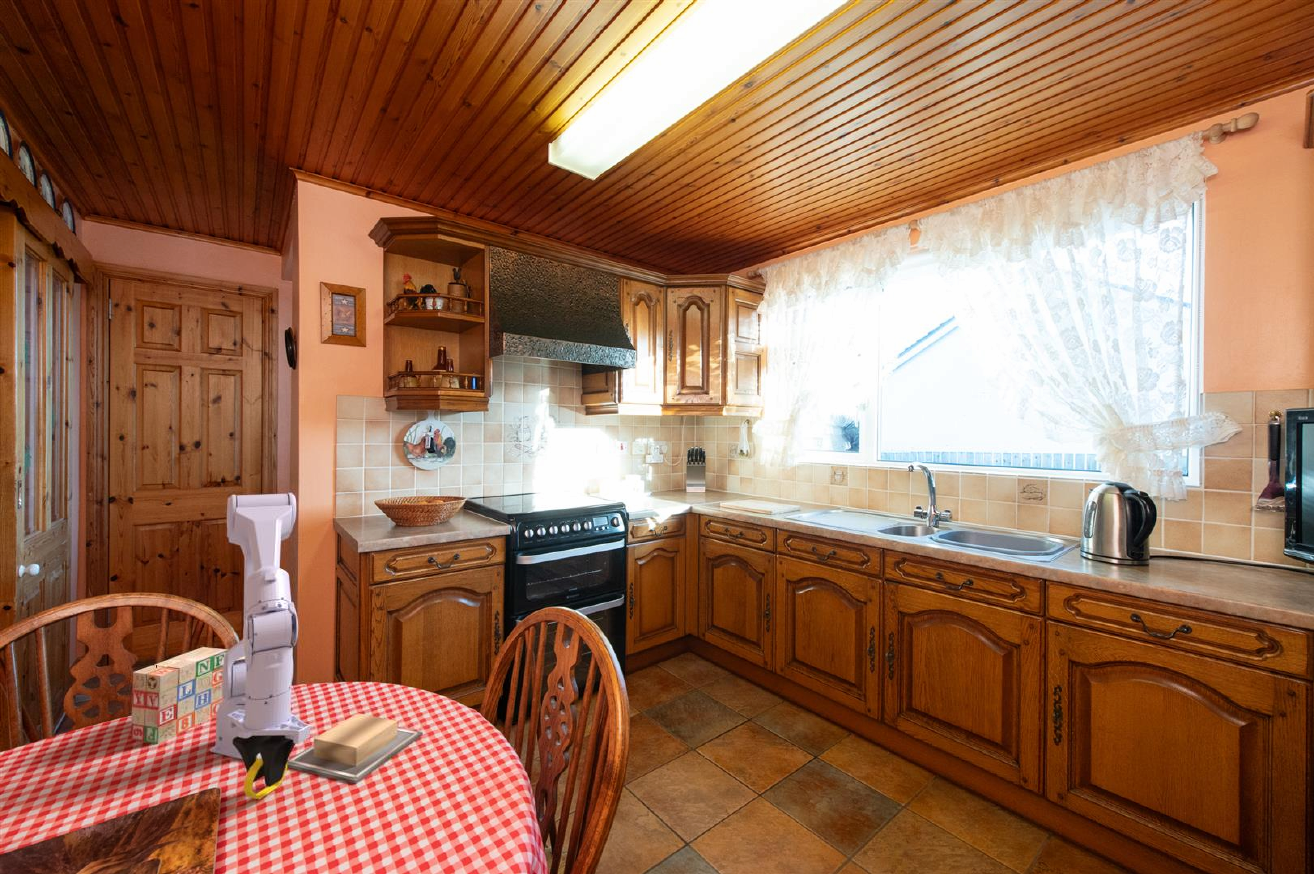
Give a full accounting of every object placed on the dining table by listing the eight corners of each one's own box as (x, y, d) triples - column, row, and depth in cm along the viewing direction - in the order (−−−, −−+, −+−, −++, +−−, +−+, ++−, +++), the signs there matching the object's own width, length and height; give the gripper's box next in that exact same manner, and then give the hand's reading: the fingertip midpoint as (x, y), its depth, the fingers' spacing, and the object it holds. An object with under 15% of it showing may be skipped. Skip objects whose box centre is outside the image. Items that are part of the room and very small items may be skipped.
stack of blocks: (244, 688, 116) (246, 630, 116) (268, 691, 115) (270, 633, 115) (129, 740, 95) (131, 671, 95) (157, 745, 94) (159, 674, 94)
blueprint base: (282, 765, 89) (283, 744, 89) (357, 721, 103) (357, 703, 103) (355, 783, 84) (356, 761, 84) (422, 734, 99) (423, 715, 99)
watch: (275, 781, 85) (279, 742, 85) (289, 784, 84) (293, 745, 85) (237, 803, 79) (242, 761, 79) (252, 806, 78) (256, 764, 79)
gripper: (206, 695, 80) (202, 786, 80) (280, 710, 76) (276, 807, 76) (253, 675, 87) (250, 760, 87) (323, 689, 83) (320, 777, 83)
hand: (265, 780), depth 82 cm, fingers closed on watch, 3 cm apart
